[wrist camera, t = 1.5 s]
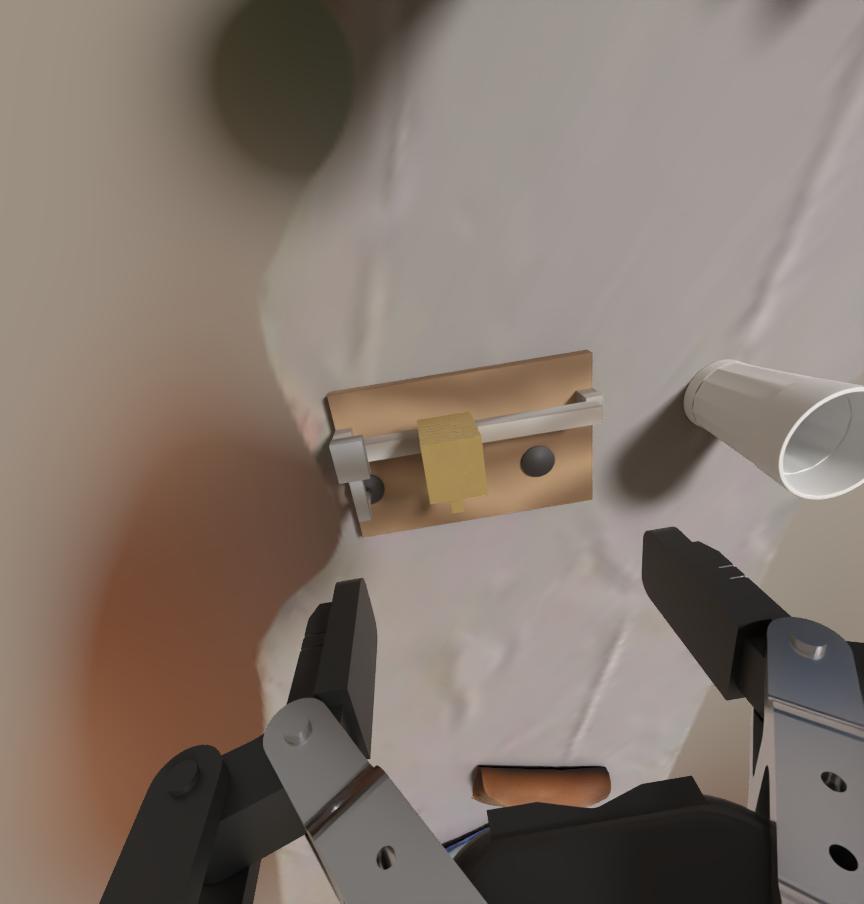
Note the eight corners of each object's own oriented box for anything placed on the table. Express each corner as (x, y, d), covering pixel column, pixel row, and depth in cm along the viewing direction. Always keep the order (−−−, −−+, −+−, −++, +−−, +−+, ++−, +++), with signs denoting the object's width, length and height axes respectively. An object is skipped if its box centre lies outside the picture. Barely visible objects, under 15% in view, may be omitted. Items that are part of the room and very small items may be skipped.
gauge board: (329, 392, 37) (316, 416, 32) (586, 349, 37) (620, 366, 32) (363, 530, 43) (358, 571, 37) (587, 493, 43) (616, 529, 37)
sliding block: (415, 405, 36) (420, 445, 29) (463, 397, 37) (481, 435, 29) (429, 487, 40) (437, 544, 32) (473, 480, 40) (492, 535, 32)
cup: (768, 412, 41) (904, 468, 30) (685, 449, 42) (787, 517, 31) (754, 333, 38) (899, 364, 27) (665, 376, 39) (770, 422, 28)
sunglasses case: (467, 802, 62) (479, 837, 55) (471, 747, 63) (482, 775, 56) (590, 801, 64) (615, 835, 57) (591, 749, 65) (615, 776, 58)
